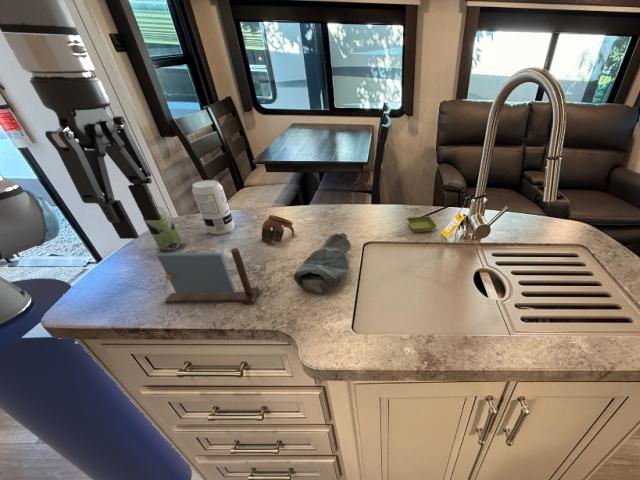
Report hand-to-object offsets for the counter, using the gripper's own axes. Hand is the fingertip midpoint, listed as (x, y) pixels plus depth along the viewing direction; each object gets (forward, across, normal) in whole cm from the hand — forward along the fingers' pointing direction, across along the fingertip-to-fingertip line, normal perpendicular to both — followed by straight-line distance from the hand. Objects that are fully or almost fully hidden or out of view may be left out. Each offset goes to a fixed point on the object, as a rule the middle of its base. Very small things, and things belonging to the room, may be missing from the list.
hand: (142, 227), depth 58 cm
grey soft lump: (+21, +18, -30) cm, 41 cm away
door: (+19, +6, -3) cm, 20 cm away
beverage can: (+21, +31, +18) cm, 42 cm away
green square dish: (+21, +44, -58) cm, 76 cm away
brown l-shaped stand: (+21, +6, -4) cm, 22 cm away
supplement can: (+21, +43, +8) cm, 49 cm away
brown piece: (+21, +36, -12) cm, 43 cm away
